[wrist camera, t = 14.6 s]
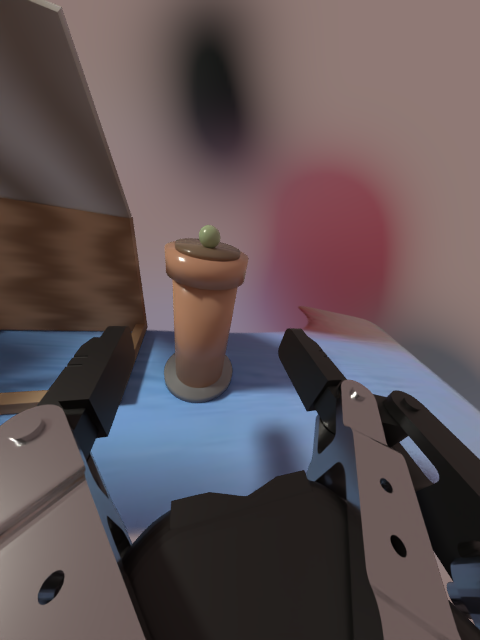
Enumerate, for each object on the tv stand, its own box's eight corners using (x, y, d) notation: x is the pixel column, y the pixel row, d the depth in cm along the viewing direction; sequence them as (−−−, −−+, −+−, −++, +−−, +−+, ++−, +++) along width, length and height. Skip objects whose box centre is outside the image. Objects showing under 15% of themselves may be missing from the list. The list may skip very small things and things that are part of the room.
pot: (188, 403, 15) (193, 233, 8) (162, 361, 19) (148, 212, 11) (236, 374, 19) (270, 237, 12) (207, 343, 22) (219, 220, 15)
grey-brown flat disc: (185, 418, 15) (185, 413, 15) (153, 364, 19) (153, 359, 19) (244, 379, 20) (245, 375, 19) (208, 342, 23) (209, 338, 23)
